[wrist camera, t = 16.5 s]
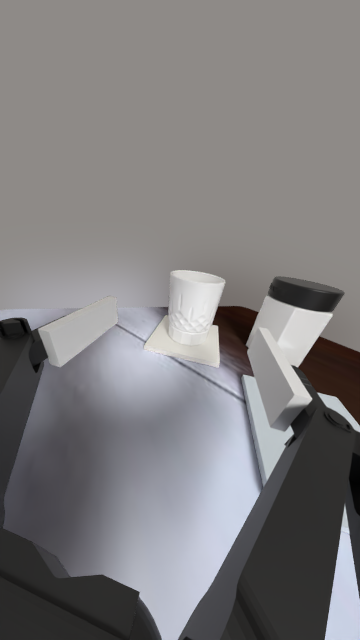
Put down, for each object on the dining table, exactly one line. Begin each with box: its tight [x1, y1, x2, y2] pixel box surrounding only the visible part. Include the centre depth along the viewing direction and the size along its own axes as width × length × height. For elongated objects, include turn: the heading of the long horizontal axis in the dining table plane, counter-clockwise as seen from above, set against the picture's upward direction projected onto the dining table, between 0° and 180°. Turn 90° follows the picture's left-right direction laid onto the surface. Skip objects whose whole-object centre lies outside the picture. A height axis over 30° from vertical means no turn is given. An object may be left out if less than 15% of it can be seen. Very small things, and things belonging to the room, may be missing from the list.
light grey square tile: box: [241, 375, 360, 534], centre depth 14 cm, size 11×11×1 cm
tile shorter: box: [144, 315, 220, 368], centre depth 26 cm, size 11×11×1 cm
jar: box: [246, 277, 344, 368], centre depth 24 cm, size 9×8×12 cm
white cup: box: [168, 270, 226, 346], centre depth 24 cm, size 8×8×10 cm
